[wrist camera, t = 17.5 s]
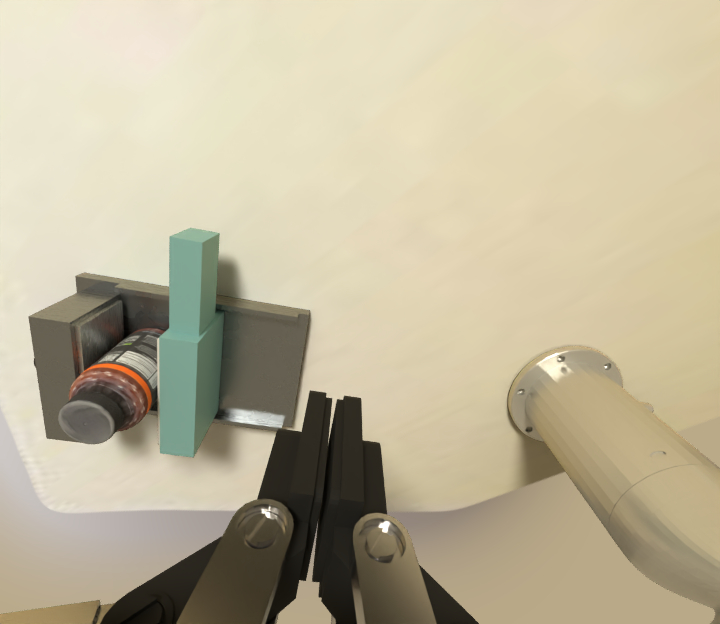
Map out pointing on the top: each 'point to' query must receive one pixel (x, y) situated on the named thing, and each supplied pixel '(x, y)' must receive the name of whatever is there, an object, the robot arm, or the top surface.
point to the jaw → (190, 344)
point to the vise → (151, 310)
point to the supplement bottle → (113, 390)
